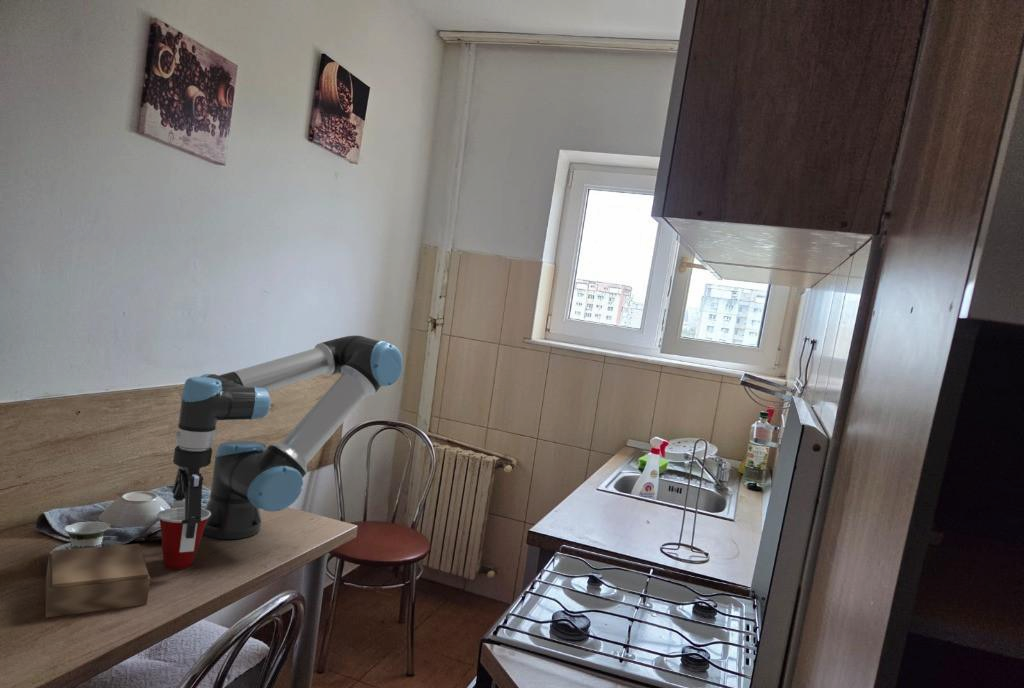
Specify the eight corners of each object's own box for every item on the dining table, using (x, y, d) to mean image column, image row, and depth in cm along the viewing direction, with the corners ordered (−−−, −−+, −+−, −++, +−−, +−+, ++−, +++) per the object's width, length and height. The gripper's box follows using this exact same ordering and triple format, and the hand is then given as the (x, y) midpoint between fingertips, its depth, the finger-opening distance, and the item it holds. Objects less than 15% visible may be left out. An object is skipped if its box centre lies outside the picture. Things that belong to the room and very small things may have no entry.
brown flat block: (137, 569, 136) (141, 542, 136) (146, 604, 124) (150, 574, 123) (45, 578, 127) (49, 550, 126) (45, 617, 114) (49, 585, 114)
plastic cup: (194, 550, 150) (201, 501, 149) (211, 569, 142) (218, 517, 141) (143, 558, 142) (151, 506, 141) (158, 578, 134) (166, 523, 134)
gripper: (166, 432, 148) (154, 519, 149) (185, 463, 128) (171, 564, 129) (201, 432, 153) (189, 517, 154) (224, 462, 133) (210, 560, 134)
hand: (181, 539), depth 142 cm, fingers open, 13 cm apart
